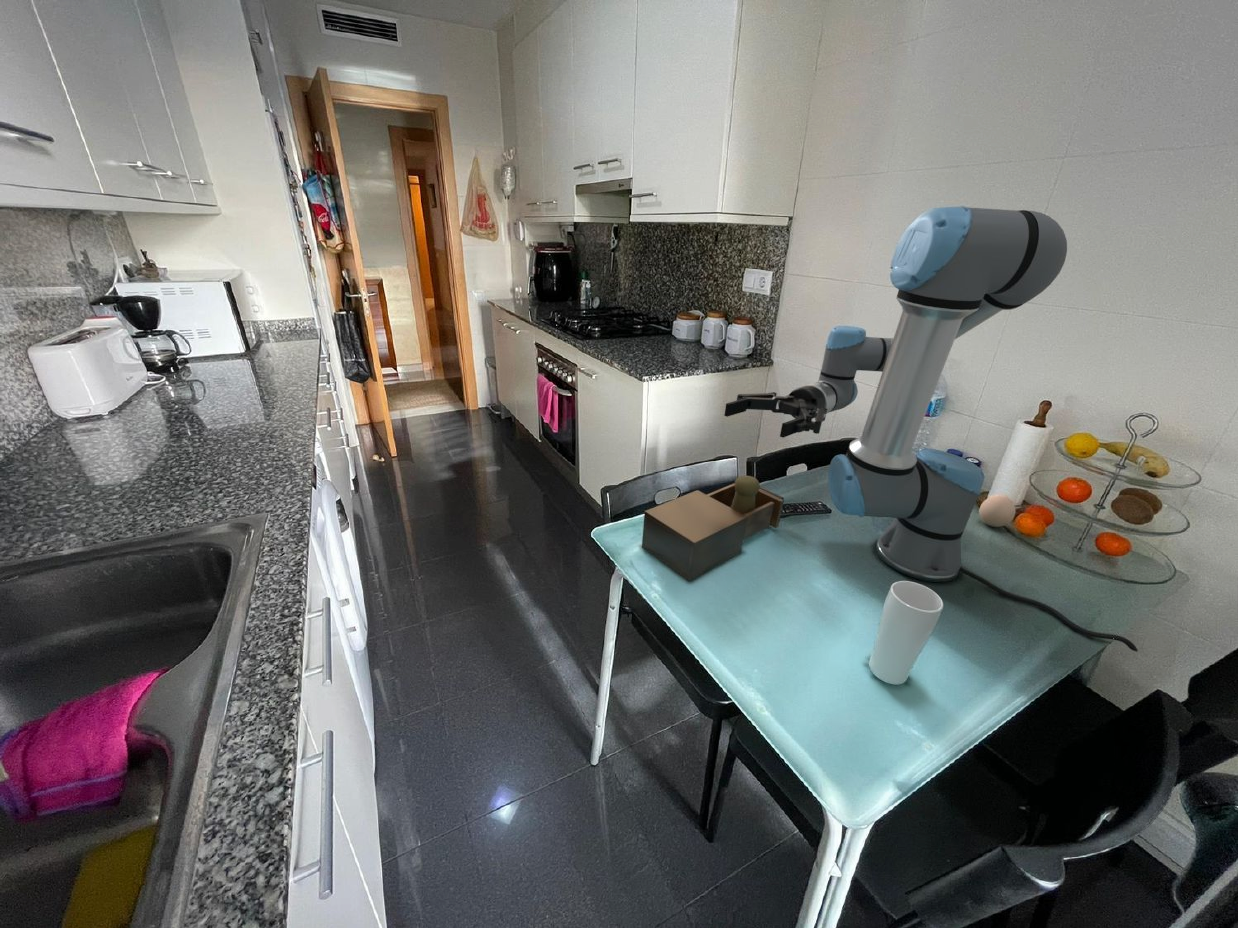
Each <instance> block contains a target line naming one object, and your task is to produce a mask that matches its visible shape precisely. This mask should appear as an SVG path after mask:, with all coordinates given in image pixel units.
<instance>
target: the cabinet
mask: <svg viewBox="0 0 1238 928" xmlns="http://www.w3.org/2000/svg"><path fill="white" fill-rule="evenodd" d="M643 513H644V515H643V525H642V539H641V547H642V548H643V549H644V550H646V551H647V552H648V553H650V554H652V556H654V557H655V558H657V559H658V560H659V561H661V562H662V563H664V564H665V565H666V566H668V567H669V568H671V569H672V570H673V571H675V572H676V573H678V574H679V575H680V576H682V577H683V578H684V579H686V580H688V581H689V582H690V581H692V580H694V579H695V578H696V579H697V577H699V576H701V575H703V574H705V573H706V572H708V571H710V570H712V569H714V568H715V567H718V566H719V565H721V564H722V563H724V562H727V561H728V560H730V559H732V558H734V557H735V556H737V555H739V554H741V553H742V551H743V546H744V541H743V540H744V535H745V530H746V524H747V519H748V517H747V516H745V515H743V514H741V513H739V512H737V511H736V510H734V509H732V508H730V507H728V506H726V505H724V504H723V503H721V502H719V501H717V500H715V499H713V498H711V497H710V496H708V495H707V494H706V493H704V492H702V491H700V490H699V489H697V490H694V491H692V492H689V493H686V494H685V495H682V496H679V497H677V498H673V499H672V500H669V501H667V502H663V503H662V504H659V505H657V506H654V507H652V508H649V509H647V510H644V512H643Z"/></svg>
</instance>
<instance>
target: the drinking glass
mask: <svg viewBox="0 0 1238 928" xmlns="http://www.w3.org/2000/svg"><path fill="white" fill-rule="evenodd" d="M943 609H944V602H943V600H942V598H941V597H940V595H939V594H938V593H937V592H935V591H934V590H933V589H931V588H930V587H927V586H926V585H924V584H921V583H918V582H914V581H910V580H899V581H895V582H894V583H891V586H890V588H889V590H888V592H887V595H886V598H885V600H884V602H883V607H882V609H881V612H880V613H881V614H880V618H879V622H878V625H877V627H878V628H877V630H876V635H875V639H874V640H875V641H874V644H873V647H872V652H871V655H870V657H869V661H868V665H869V669H870V671H871V672H872V674H873V675H874V676H875V677H876V678H877V679H879V681H880V680H881V681H882V682H884V683H886V684H889V685H895V686H896V685H897V686H899V685H902V684H904V683H906V681H907V680H908V677H909V675H910V673H911V671H912V669H913V668H914V665H915V664H916V662H917V661H918V659H919V657H920V655H921V654H922V652H923V650H924V648H925V647H926V645H927V644H928V643H929V640H930V638H931V637H932V635H933V633H934V631H935V629H936V627H937V625H938V623H939V620H940V617H941V614H942V611H943Z"/></svg>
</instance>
